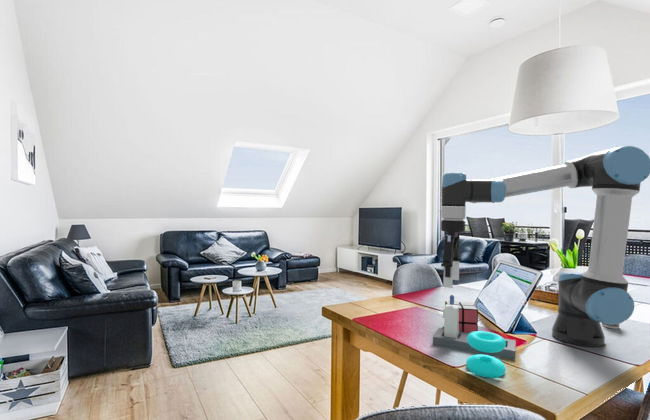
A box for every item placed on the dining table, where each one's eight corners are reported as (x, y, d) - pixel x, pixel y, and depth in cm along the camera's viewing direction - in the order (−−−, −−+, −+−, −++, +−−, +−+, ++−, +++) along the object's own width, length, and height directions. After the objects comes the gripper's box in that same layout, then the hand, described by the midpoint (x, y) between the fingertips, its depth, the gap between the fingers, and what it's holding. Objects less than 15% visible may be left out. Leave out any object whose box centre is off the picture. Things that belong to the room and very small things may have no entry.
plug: (458, 341, 123) (459, 294, 123) (456, 345, 120) (457, 297, 119) (444, 338, 125) (445, 292, 125) (442, 342, 122) (442, 295, 122)
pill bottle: (598, 323, 145) (599, 299, 145) (614, 324, 144) (614, 300, 144) (606, 328, 140) (606, 302, 139) (622, 329, 138) (623, 303, 138)
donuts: (495, 329, 107) (513, 342, 97) (494, 363, 107) (512, 380, 97) (461, 329, 107) (475, 342, 97) (460, 363, 107) (475, 379, 97)
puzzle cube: (477, 338, 128) (478, 309, 128) (447, 335, 130) (448, 307, 130) (472, 328, 138) (472, 302, 138) (444, 326, 140) (444, 300, 140)
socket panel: (515, 349, 118) (515, 339, 118) (515, 361, 109) (515, 350, 109) (438, 336, 129) (438, 327, 129) (432, 345, 120) (432, 336, 120)
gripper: (447, 218, 135) (446, 275, 135) (433, 220, 113) (431, 289, 113) (469, 219, 131) (468, 278, 131) (459, 221, 109) (457, 292, 109)
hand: (451, 283), depth 122 cm, fingers open, 13 cm apart
